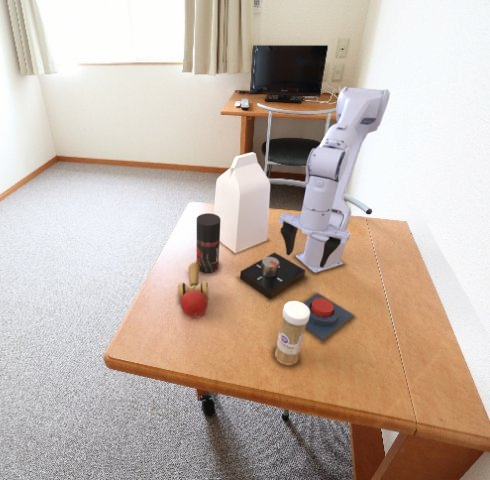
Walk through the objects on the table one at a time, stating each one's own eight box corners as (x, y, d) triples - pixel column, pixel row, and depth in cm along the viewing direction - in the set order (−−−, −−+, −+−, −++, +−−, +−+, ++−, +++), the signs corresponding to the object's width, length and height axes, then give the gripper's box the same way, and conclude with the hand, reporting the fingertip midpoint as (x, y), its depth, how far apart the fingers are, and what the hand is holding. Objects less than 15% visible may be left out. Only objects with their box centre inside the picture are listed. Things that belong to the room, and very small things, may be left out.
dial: (257, 272, 88) (259, 259, 86) (268, 265, 90) (269, 253, 88) (269, 280, 86) (271, 267, 83) (280, 273, 87) (282, 261, 85)
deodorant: (217, 274, 92) (219, 226, 84) (195, 272, 93) (194, 224, 85) (219, 261, 97) (221, 214, 88) (198, 259, 98) (198, 212, 90)
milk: (235, 253, 100) (241, 167, 85) (211, 234, 108) (213, 153, 94) (267, 240, 104) (278, 156, 90) (242, 223, 113) (248, 144, 98)
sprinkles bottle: (270, 358, 70) (279, 310, 62) (280, 344, 73) (290, 296, 65) (292, 370, 67) (304, 322, 60) (302, 355, 70) (314, 307, 63)
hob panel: (273, 259, 96) (274, 251, 95) (304, 277, 90) (305, 269, 88) (239, 278, 90) (240, 270, 89) (269, 299, 84) (271, 291, 82)
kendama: (176, 276, 94) (173, 319, 78) (180, 256, 91) (178, 296, 75) (205, 280, 94) (208, 324, 78) (209, 260, 91) (213, 301, 75)
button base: (317, 295, 84) (319, 287, 83) (352, 317, 78) (355, 309, 77) (287, 316, 79) (289, 308, 78) (322, 341, 73) (325, 333, 71)
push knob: (318, 300, 80) (320, 295, 79) (336, 311, 77) (337, 306, 76) (306, 308, 78) (308, 303, 77) (324, 320, 75) (325, 315, 74)
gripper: (276, 203, 73) (268, 256, 81) (348, 223, 65) (332, 280, 73) (289, 191, 78) (281, 242, 85) (359, 209, 70) (343, 263, 77)
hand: (305, 258), depth 79 cm, fingers open, 7 cm apart
